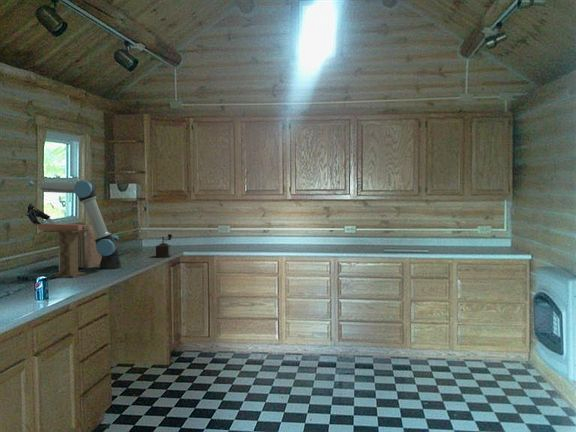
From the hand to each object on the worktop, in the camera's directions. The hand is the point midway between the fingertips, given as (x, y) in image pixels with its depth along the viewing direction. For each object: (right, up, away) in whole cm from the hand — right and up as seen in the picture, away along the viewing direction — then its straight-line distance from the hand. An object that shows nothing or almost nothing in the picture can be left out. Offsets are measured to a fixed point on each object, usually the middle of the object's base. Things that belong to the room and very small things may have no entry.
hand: (50, 226), depth 392 cm
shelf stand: (+18, -32, -13) cm, 39 cm away
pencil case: (+12, -2, -13) cm, 18 cm away
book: (+16, -29, +31) cm, 45 cm away
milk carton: (+8, -31, +8) cm, 33 cm away
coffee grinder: (+59, -26, +86) cm, 107 cm away
